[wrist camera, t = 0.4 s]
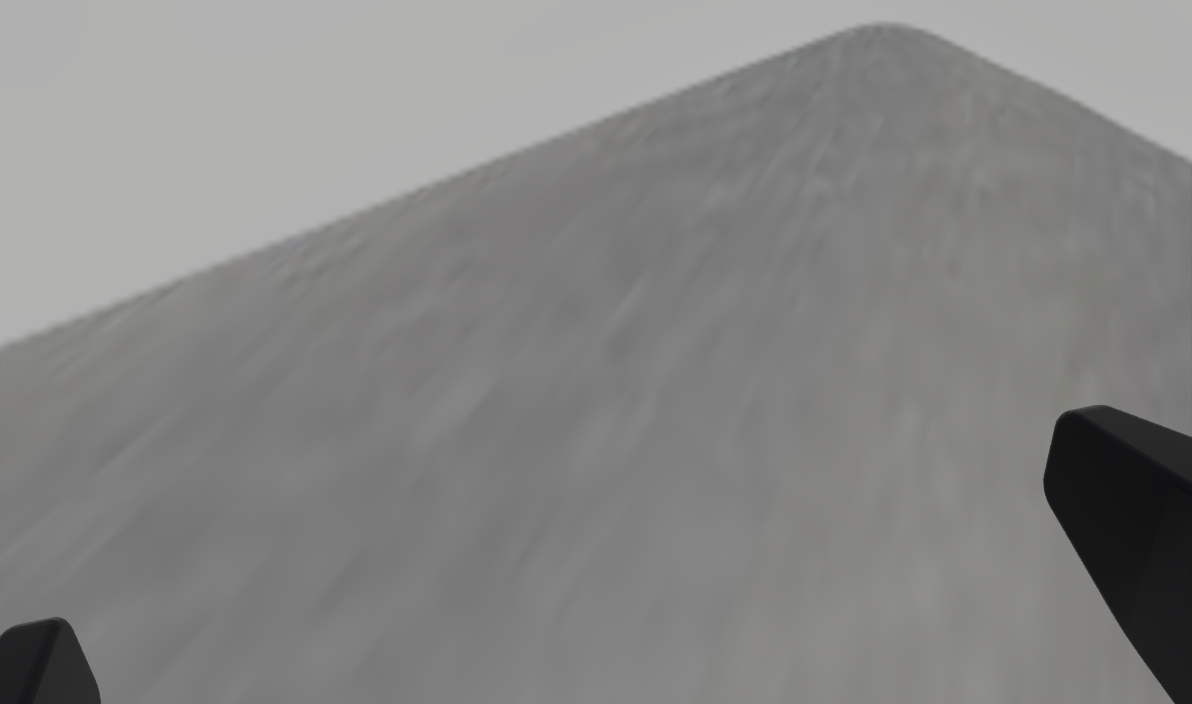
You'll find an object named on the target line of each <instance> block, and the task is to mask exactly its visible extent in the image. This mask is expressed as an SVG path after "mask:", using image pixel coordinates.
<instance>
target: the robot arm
mask: <svg viewBox="0 0 1192 704" xmlns="http://www.w3.org/2000/svg"><path fill="white" fill-rule="evenodd" d="M1043 484H1044V492H1045V496H1046V498H1047V501H1048V503H1049V505H1050V507H1051V509H1052V511H1053V512H1054V514H1055V516H1056V518H1057V519H1058V521H1059V523H1060V525H1061V526H1062V528H1063V530H1064V531H1065V533H1066V535H1067V537H1068V538H1069V540H1070V542H1071V543H1072V545H1073V547H1074V549H1075V550H1076V552H1077V554H1078V556H1079V557H1080V559H1081V561H1082V562H1083V564H1084V566H1085V568H1086V569H1087V571H1088V573H1089V574H1090V576H1091V578H1092V580H1093V581H1094V583H1095V585H1096V587H1097V588H1098V590H1099V592H1100V593H1101V595H1102V597H1103V599H1104V600H1105V602H1106V604H1107V605H1108V607H1109V609H1110V611H1111V612H1112V614H1113V616H1114V617H1115V619H1116V620H1117V622H1118V624H1119V625H1120V627H1121V628H1122V630H1123V632H1124V633H1125V635H1126V636H1127V638H1128V639H1129V641H1130V642H1131V644H1132V645H1133V646H1134V648H1135V649H1136V651H1137V652H1138V654H1139V655H1140V657H1141V658H1142V659H1143V661H1144V662H1145V663H1146V665H1147V666H1148V668H1149V669H1150V670H1151V672H1152V673H1153V674H1154V676H1155V677H1156V679H1157V680H1158V681H1159V683H1160V684H1161V686H1162V687H1163V688H1164V690H1165V691H1166V692H1167V694H1168V695H1169V697H1170V698H1171V699H1172V701H1173V702H1174V703H1175V704H1192V437H1190V436H1188V435H1185V434H1182V433H1180V432H1177V431H1174V430H1171V429H1169V428H1166V427H1163V426H1161V425H1158V424H1155V423H1153V422H1150V421H1147V420H1145V419H1142V418H1139V417H1137V416H1134V415H1131V414H1129V413H1126V412H1123V411H1121V410H1118V409H1115V408H1112V407H1110V406H1106V405H1094V406H1089V407H1084V408H1079V409H1074V410H1070V411H1067V412H1065V413H1063V414H1062V415H1061V416H1060V417H1059V419H1058V420H1057V421H1056V424H1055V428H1054V432H1053V437H1052V441H1051V446H1050V450H1049V455H1048V459H1047V463H1046V468H1045V472H1044V478H1043ZM0 704H101V699H100V693H99V689H98V685H97V683H96V680H95V678H94V676H93V673H92V671H91V669H90V667H89V664H88V662H87V660H86V657H85V655H84V653H83V651H82V648H81V646H80V644H79V642H78V639H77V637H76V635H75V633H74V630H73V629H72V627H71V625H70V624H69V623H68V622H67V621H66V620H65V619H63V618H59V617H53V618H48V619H43V620H38V621H33V622H28V623H23V624H19V625H15V626H13V627H10V628H9V629H7V630H6V631H5V632H4V633H3V634H2V635H1V636H0Z"/></svg>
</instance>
